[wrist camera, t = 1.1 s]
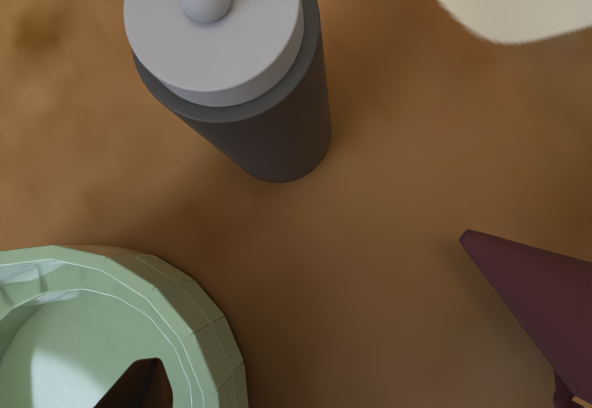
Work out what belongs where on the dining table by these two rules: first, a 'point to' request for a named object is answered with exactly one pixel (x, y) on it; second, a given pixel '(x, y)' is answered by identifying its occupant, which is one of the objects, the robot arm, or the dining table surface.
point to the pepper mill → (239, 77)
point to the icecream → (544, 306)
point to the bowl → (109, 329)
